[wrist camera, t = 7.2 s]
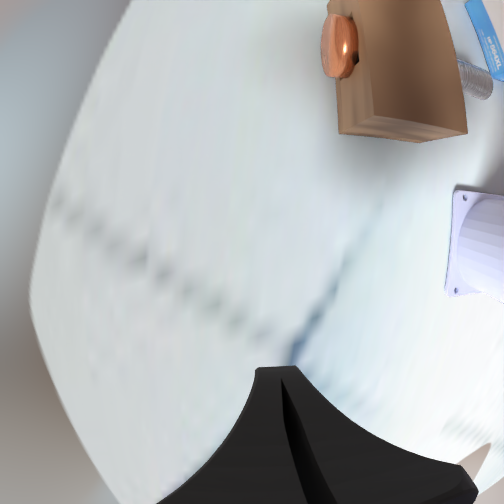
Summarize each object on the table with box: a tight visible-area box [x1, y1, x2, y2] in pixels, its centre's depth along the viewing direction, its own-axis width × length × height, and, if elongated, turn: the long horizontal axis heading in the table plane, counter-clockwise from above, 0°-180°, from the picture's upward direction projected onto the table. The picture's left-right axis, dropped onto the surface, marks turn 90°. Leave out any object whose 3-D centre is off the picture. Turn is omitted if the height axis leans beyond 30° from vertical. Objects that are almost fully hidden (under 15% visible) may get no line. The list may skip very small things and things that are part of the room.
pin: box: [321, 14, 493, 100], centre depth 14 cm, size 12×4×4 cm, turn 91°
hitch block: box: [327, 0, 468, 143], centre depth 14 cm, size 6×10×5 cm, turn 1°
